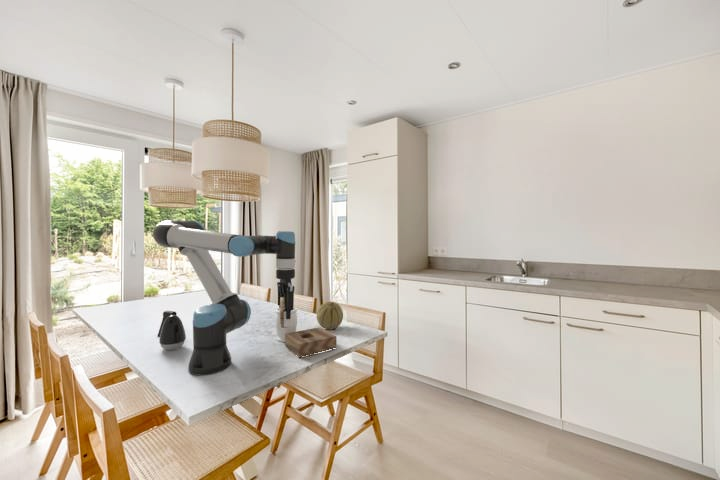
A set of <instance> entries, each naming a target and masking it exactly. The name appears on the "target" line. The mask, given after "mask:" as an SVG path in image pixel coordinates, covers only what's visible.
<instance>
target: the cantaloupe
mask: <svg viewBox="0 0 720 480" xmlns="http://www.w3.org/2000/svg"><path fill="white" fill-rule="evenodd" d="M343 312H344V311H343V309H342V306H340V304H339V303H337V302H335V301H326V302H324V303H322V304H320V306H319V307H318V309H317V311H316V321H317V323H318V325H319V327H321V328H323V329H325V330H333V329H337V328H338V327H339V326H340V325H341V324H342V322H343V319H344V313H343Z"/></svg>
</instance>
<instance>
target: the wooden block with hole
mask: <svg viewBox="0 0 720 480" xmlns="http://www.w3.org/2000/svg"><path fill="white" fill-rule="evenodd" d="M284 345H285V346H286V347H287V348H288V349H287V348H286V347H285V348H286V349H287V350H288V351H290V352H291V351H292V352H293V353H294V354H295V355H294V354H293V353H292V352H291V353H292V354H293V355H294V356H296V355H297V356H298V357H302V356H306V355H310V354H314V353H318V352H322V351H326V350H329V349H333V348H336V349H337V335H335V334H333V333H332V332H330V331H328V330H327V329H325V328H323V327H321V326H318V327H314V328H308V329H303V330H298V331H297V330H296V332H292V333H286V334H285V342H284ZM297 356H296V357H297ZM298 357H297V358H298Z"/></svg>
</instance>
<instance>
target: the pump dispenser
mask: <svg viewBox="0 0 720 480" xmlns="http://www.w3.org/2000/svg"><path fill="white" fill-rule="evenodd" d="M186 339H187V336H186V331H185V326H184V324H183V322H182V319H181V318H180V316H178V315H171V316H169V317H167V318H166V320H165V322H164V324H163V327H162V330H161V334H160V337H159V344H160V347H161V348H162V349H163V350H165V351H167V352H168V351H175V350H179V349H180V348H182V347H183V346H184V344H185V341H186Z"/></svg>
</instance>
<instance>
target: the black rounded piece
mask: <svg viewBox="0 0 720 480" xmlns="http://www.w3.org/2000/svg"><path fill="white" fill-rule="evenodd" d="M171 315H176V316H178V315H177V312H176V311H172V310H164V311H163V313H162V320H161V323H160V326H159V329H158V333H157V337H159V338H160V334H161V330H162V327H163V324H164V322H165V320H166V318H167V317H169V316H171Z"/></svg>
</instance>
